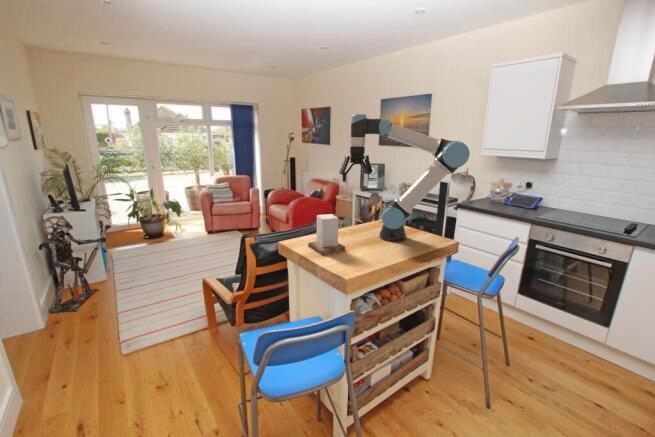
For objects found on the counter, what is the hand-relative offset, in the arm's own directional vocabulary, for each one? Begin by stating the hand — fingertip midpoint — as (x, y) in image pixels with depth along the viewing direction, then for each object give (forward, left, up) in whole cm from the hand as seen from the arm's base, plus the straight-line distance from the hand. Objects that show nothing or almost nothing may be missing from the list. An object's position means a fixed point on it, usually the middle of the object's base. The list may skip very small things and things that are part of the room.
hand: (355, 186), depth 164 cm
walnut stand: (+19, +2, -31) cm, 36 cm away
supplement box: (+19, +2, -29) cm, 34 cm away
